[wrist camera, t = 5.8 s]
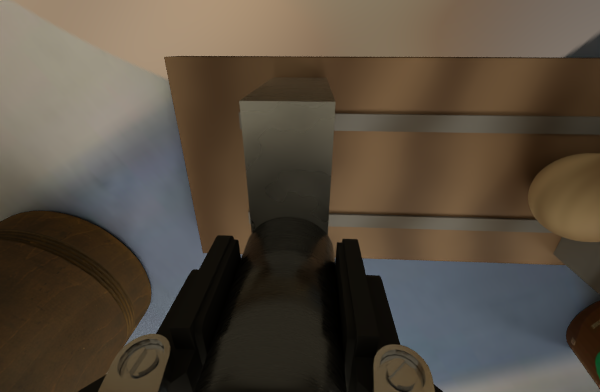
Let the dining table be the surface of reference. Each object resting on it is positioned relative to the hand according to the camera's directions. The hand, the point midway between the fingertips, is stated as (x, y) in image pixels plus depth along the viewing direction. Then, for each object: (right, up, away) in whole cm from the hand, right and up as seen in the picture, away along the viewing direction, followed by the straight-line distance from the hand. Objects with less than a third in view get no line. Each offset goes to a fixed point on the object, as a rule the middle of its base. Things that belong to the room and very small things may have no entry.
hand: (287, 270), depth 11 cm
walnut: (+17, +4, +8) cm, 19 cm away
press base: (+9, +5, +10) cm, 14 cm away
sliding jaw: (0, +4, +8) cm, 9 cm away
